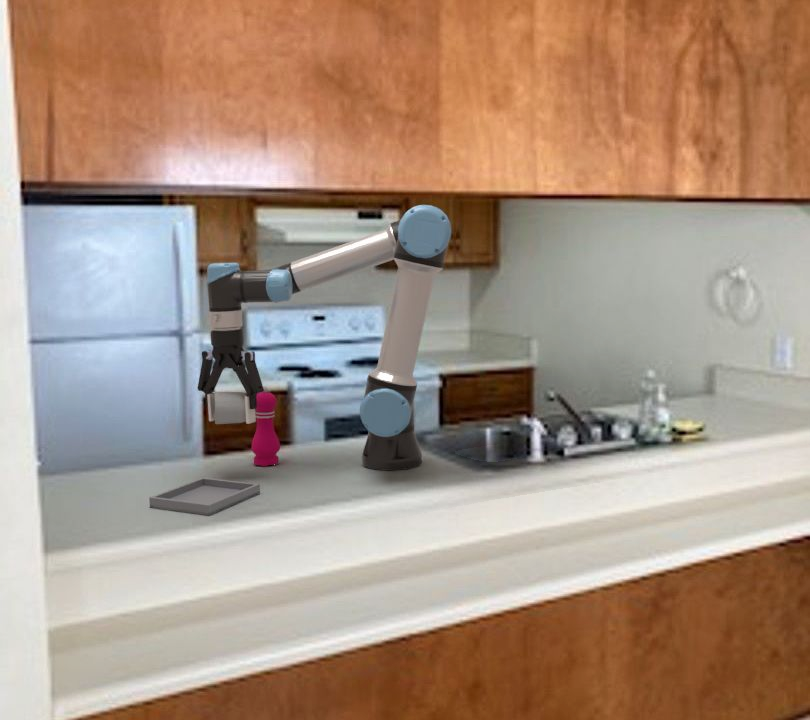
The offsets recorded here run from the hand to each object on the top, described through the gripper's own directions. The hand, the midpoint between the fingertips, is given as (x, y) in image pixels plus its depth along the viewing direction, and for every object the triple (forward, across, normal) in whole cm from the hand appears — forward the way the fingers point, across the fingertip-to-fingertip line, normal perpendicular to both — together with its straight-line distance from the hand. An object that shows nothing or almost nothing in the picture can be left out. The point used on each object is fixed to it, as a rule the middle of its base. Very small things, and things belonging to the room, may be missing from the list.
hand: (232, 421), depth 218 cm
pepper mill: (+14, -1, +15) cm, 20 cm away
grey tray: (+14, +6, -18) cm, 24 cm away
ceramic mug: (0, -1, +1) cm, 1 cm away
